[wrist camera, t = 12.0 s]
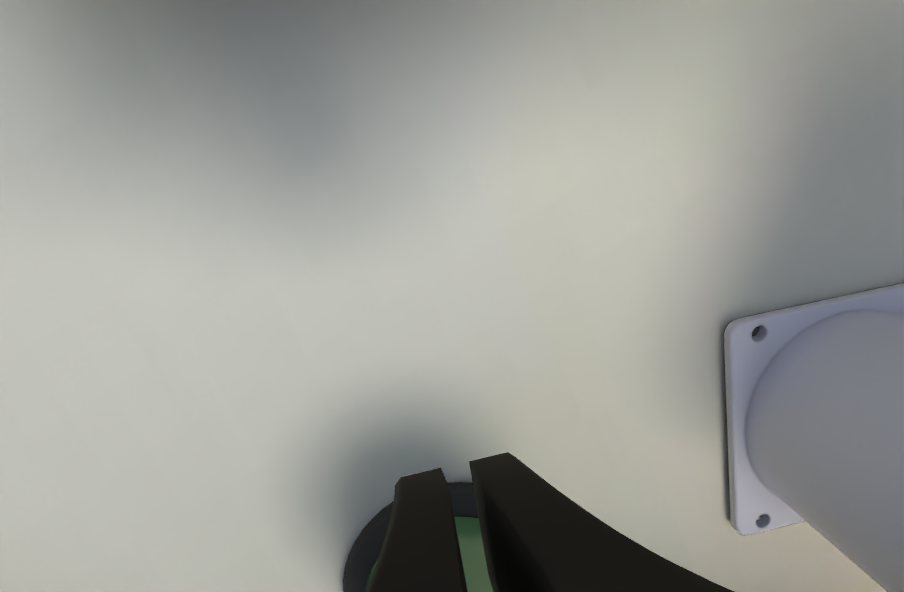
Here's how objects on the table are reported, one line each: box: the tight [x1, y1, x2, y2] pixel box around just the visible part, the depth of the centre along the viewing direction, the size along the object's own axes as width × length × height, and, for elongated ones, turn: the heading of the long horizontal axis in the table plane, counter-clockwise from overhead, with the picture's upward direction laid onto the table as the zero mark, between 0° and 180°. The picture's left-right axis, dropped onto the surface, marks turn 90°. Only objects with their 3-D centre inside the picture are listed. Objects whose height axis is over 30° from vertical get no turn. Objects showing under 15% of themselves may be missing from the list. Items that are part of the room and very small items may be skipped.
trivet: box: [343, 482, 479, 592], centre depth 22 cm, size 7×7×1 cm
